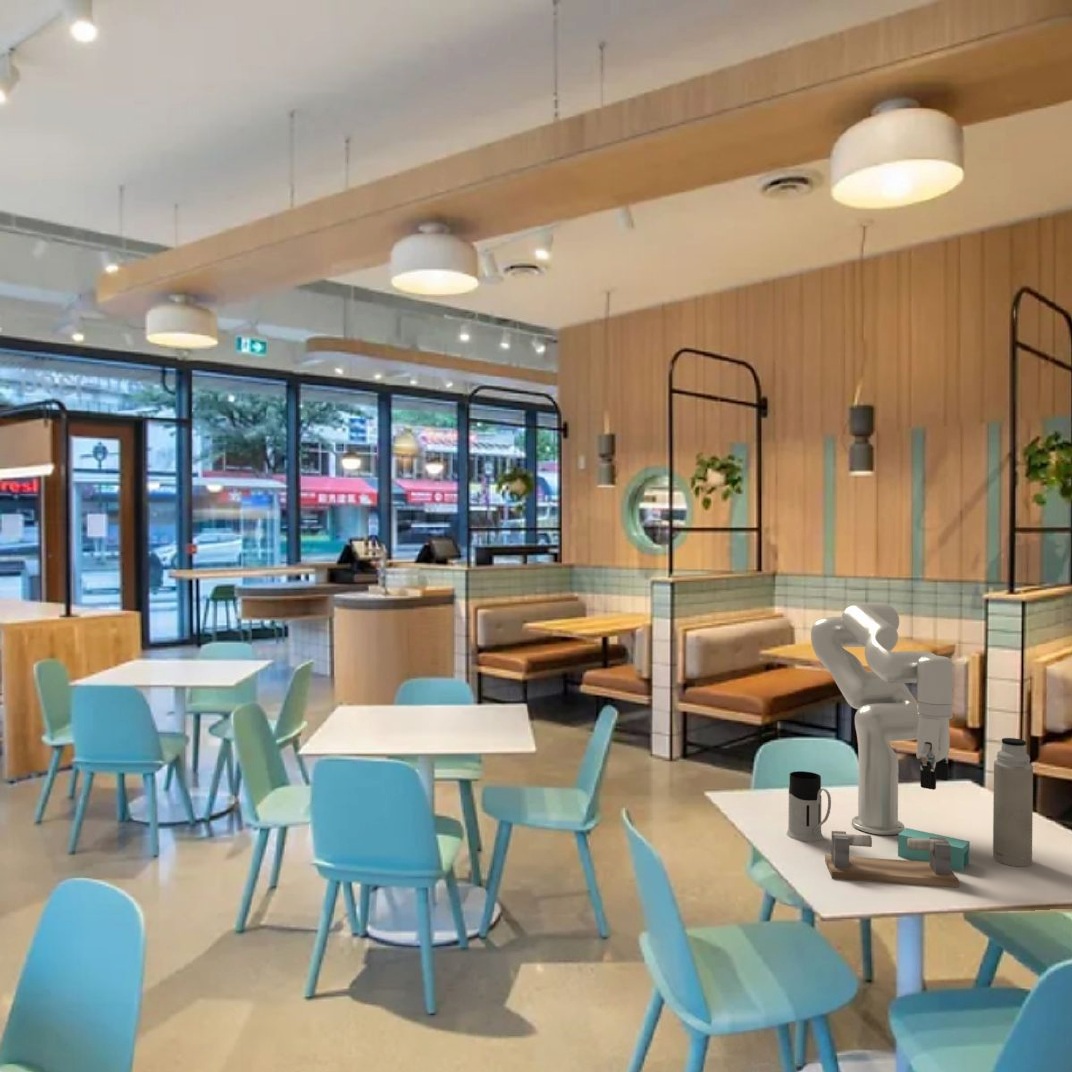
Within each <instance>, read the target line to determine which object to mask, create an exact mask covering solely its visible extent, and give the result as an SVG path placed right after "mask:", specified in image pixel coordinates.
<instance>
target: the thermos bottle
mask: <svg viewBox="0 0 1072 1072" xmlns="http://www.w3.org/2000/svg"><path fill="white" fill-rule="evenodd" d="M1026 744H1027V742H1026V741H1025V739H1020V738H1015V737H1003V738H1001V749H1000V750H999V751H997V754H996V760H994V762H993V803H992V804H993V807H992V808H993V809H992V810H993V812H992V813H993V819H992V820H993V821H992V824H993V825H992V827H993V828H992V831H993V832H992V859H994V860H995V861H997V862H999V863H1001V864H1003V865H1008V866H1013V867H1028V866H1031V865H1032V864H1033V815H1034V814H1033V812H1034V810H1033V809H1034V808H1033V807H1034V806H1033V801H1034V799H1033V795H1034V793H1033V792H1034V786H1033V785H1034V780H1033V779H1034V766H1033V765H1032V764H1030V761H1031V758H1030V754H1028V753H1027V752H1026Z"/></svg>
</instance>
